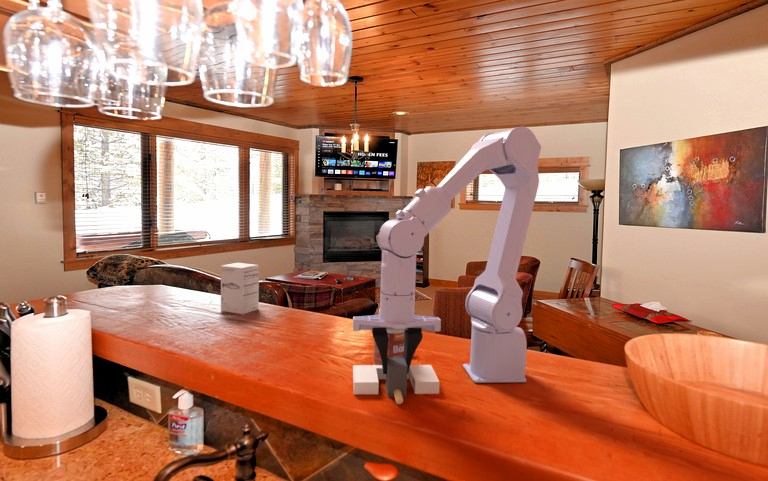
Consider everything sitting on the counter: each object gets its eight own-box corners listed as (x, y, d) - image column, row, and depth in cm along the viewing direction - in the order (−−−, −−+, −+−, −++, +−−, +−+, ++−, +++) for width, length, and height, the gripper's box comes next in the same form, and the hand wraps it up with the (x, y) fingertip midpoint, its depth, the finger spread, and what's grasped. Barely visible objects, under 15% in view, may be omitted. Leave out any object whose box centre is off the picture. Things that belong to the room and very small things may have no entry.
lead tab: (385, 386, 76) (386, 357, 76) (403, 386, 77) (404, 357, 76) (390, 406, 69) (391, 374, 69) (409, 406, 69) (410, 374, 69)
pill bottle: (396, 376, 81) (398, 315, 80) (367, 368, 84) (368, 310, 83) (411, 365, 86) (413, 308, 85) (383, 359, 89) (385, 304, 88)
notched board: (430, 375, 82) (430, 364, 81) (439, 393, 74) (439, 381, 74) (352, 376, 80) (353, 365, 80) (353, 394, 73) (353, 382, 73)
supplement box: (219, 311, 122) (219, 265, 120) (238, 306, 128) (238, 261, 127) (241, 315, 119) (241, 267, 118) (259, 309, 126) (259, 264, 124)
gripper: (354, 297, 70) (352, 381, 71) (446, 298, 71) (442, 381, 73) (353, 288, 77) (351, 365, 78) (437, 289, 78) (434, 364, 80)
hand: (395, 371), depth 76 cm, fingers closed on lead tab, 3 cm apart
